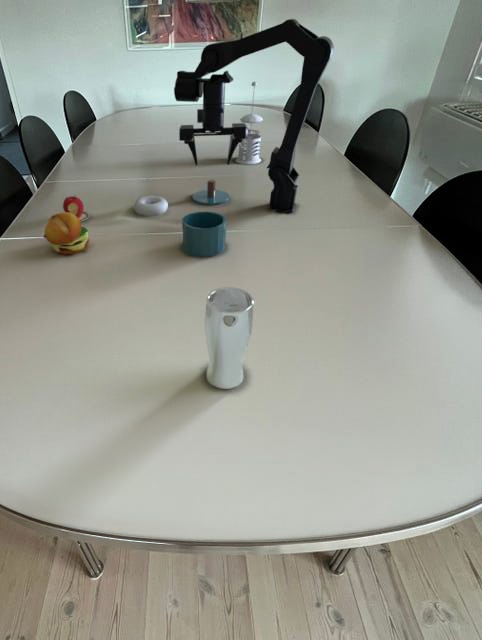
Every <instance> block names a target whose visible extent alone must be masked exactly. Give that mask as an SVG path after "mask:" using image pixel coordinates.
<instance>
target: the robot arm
mask: <svg viewBox="0 0 482 640" xmlns="http://www.w3.org/2000/svg"><path fill="white" fill-rule="evenodd" d="M283 43H286V44H287V45H289V46H290V47H291V48H292V49H293V50H294V51H295V52H296V53H298V55H300V56H301V57H303V63H302V68H301V76H300V77H301V78H300V85H299V87H298V91H297V95H296V98H295V101H294V103H293V107H292V109H291V113H290V116H289V119H288V123H287V126H286V129H285V132H284V135H283V138H282V142H281V144H280V146H279V147H278V146H275V147H274V148H273V150H272V151H271V154H270V159H269V163H268V165H267V166H266V169H268V171H267V176H268V178H269V180H270V181H271V182H272V183H273V189H272V190H271V192H270V198H269V206H270V207H269V209H270V210H274V211H275V212H282V213H293V212H294V209H295V207H296V204H297V203H296V199H297V192H298V187H299V185H298V184H297V183H298V180H299V178H300V174H299V172H298V171H297V169H296V168H295V167H294V164H295V158H296V151H297V144H298V142H299V138H300V136H301V133H302V130H303V127H304V124H305V121H306V118H307V115H308V112H309V109H310V107H311V106H310V105H311V103H312V100H313V98H314V95H315V92H316V89H317V86H318V84H319V83H320V80H321V78H322V76H323V75H324V73H325V71H326V69H327V68H328V65H329V63H330V62H331V59H332V57H333V55H334V50H335V46H334V43H333V41H332V39H331V38H330V37H328V36H324V35H322V36H318V34H316V33H314V32H313V31H311V30H310V29H309V28H307V27H305V26H303V25H302V24H301V23H300V22H299V21H298V20H297V19H296V18H289V19H286V20H285V21H283V22H281V23H279V24H276V25H274V26H271V27H269V28H266V29H263V30H261V31H257V32H255V33H252V34H250V35H247V36H244V37H242V38H241V37H240V38H238V39H231V40H224V41H223V40H222V41H217V42H213V43H210V44H207V45H205V46H204V48H203V49H202V51H201V54H200V61H199V63H198V65H197V66H196V68H195V70H194V71H187V70H179V71H177V72H176V79H175V82H174V87H173V93H174V94H173V95H174V98H175V101H176V102H187V103H188V102H189V103H197V102H199V100H200V98H202V108H199V109H197V110H196V115H197V116H196V120H197V121H196V123H197V124H201V127H197V128H195V127H194V124H180V126H179V130H178V131H179V133H178V134H179V136H178V137H179V141H181V142H182V141H183V144H184V145H187V146H188V148H189V150H190V152H191V155H192V157H193V161H194V164H195V167H197V166H198V155H197V147H196V139H195V137H208V136H210V137H211V136H229V145H228V151H227V159H226V164H227V166H229V165H230V163H231V161H232V158H233V155H234V153H235V150H236V149H237V147H238V146H239V142H242V139H246V138H247V136H248V128H247V127H248V126H247V125H246V123H244V122H237V123H236V122H235V123H231V126H230V127H229V126H228V127H224V126H225V125H224V123H225V99H226V96H225V95H226V84H230V83H232V82H233V81H234V77H233V76H232V75H231V74H230V73H229V70H225V71H223V73H221V74H220V73H216V72H218V71H221V70H222V69H224V68H226V67H228V66H230V65H231V64H232V63H234V62H236V61H238V60H239V59H241V58H243V57H246V56H249V55H252V54H254V53H258V52H260V51H263V50H266V49H269V48H272V47H275V46H278V45H280V44H283ZM209 74H210V78H205V76H208V75H209Z"/></svg>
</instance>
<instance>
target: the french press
mask: <svg viewBox="0 0 482 640" xmlns="http://www.w3.org/2000/svg"><path fill="white" fill-rule="evenodd" d="M257 86H258V82H256V81H252V82H251V87H253V89H255V87H257ZM252 94H253V95H252V101H254V98H255V92H253V93H252ZM253 111H254V104H252V106H251V113H248V114H246V115H243V116H242V117H241V118H240V123H245V124H250V125H252V124H257V123H261V122H263V120H264V118H263V117H262V116H260V115H259V114H256V113H255V114H254V113H253ZM250 125H249V126H247V128H248V136H247V138H246V139H242V142H239V143H238V154H237V155H238V156H237V157H236V158H235V162H236V163H238V164H242V165H256V164H259V163H261V162H262V159H261V158H260V150H261V140H262V136H261V135H260V134H261V130H259V129H252V128H250Z"/></svg>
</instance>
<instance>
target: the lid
mask: <svg viewBox="0 0 482 640" xmlns="http://www.w3.org/2000/svg"><path fill="white" fill-rule="evenodd" d="M206 183H207V185H206V187H207V188H206V189H203V190H198V191H196V192H195V193H193V194H192V201H193V202H195V203H196V204H199V205H203V206H204V205H205V206H217V205H222V204H226V203H227V202H229V200H230V199H231V196H230V193H228V192H226V191H224V190H220V189H216V180H215V179H208V180H207V182H206Z"/></svg>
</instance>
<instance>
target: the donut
mask: <svg viewBox="0 0 482 640" xmlns="http://www.w3.org/2000/svg"><path fill="white" fill-rule="evenodd" d="M168 208H169V204H168V201H167V200H166V199H165V198H163V197H161V196H159V195H146V196H142V197H140V198H138V199H137V200H135V202H134V205H133V209H134V211H135V213H136V214H138V215H140V216H144V217H154V216H160V215H162V214H165V213H166V211H167V210H168Z"/></svg>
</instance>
